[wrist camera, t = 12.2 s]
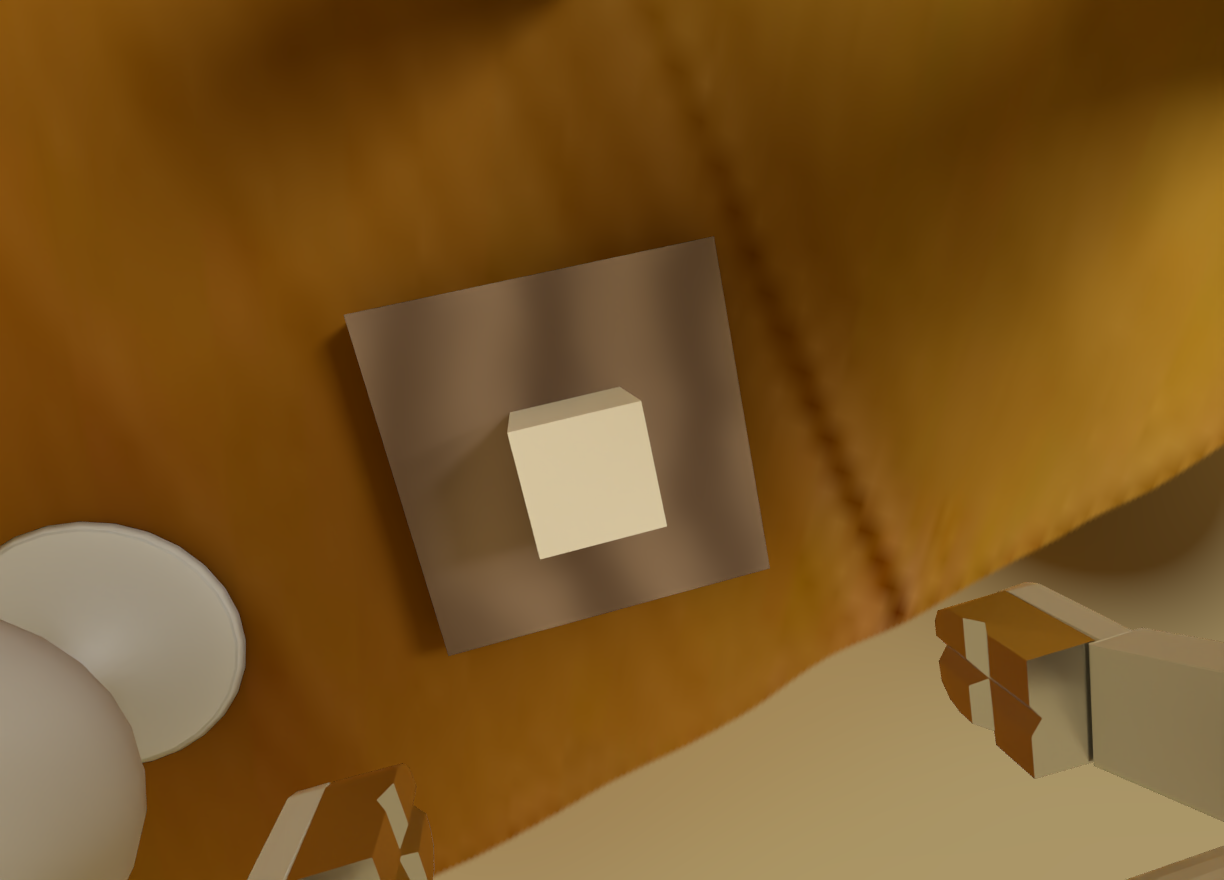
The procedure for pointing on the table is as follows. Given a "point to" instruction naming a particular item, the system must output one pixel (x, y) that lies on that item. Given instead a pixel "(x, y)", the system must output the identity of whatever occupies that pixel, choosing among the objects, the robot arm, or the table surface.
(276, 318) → the table surface
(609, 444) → the off-white cube
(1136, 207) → the table surface
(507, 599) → the walnut base
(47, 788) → the chalice
